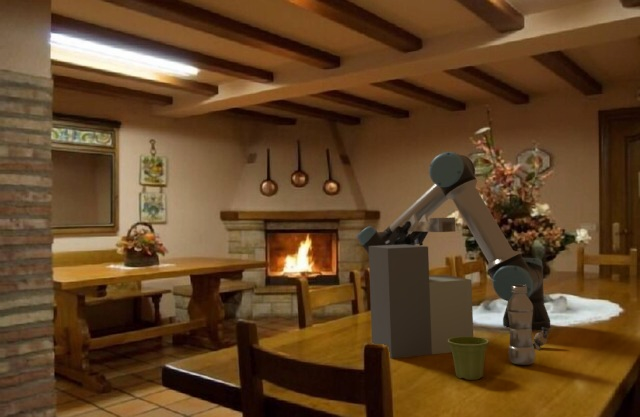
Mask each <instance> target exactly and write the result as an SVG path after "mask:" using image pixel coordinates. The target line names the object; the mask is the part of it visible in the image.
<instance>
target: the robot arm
mask: <svg viewBox="0 0 640 417" xmlns="http://www.w3.org/2000/svg"><path fill="white" fill-rule="evenodd" d="M428 169H429V172H428V174H429V178H430V179H431V181H432V182H433V184H432V186H430V187H429V188H428V189H427V190H425V192H424V193H423V194H422V195H420V196H419V197H418V198H417V200H415V201H414V202H413V203H412V204H410V206H409V207H408V208H407V209H406V210H405V211H404V212H402V213H401V214H400V215H399V216H398V217H397V218H396V219H395V220H394V221H393V222H391V224H390V225H389V226H387V228H386V229H384V231H377V229H375V227H374V226H373V225H369V226H366V227H365V228H364V229H362V230H361V231H360V232H358V235H357V236H356V237H357V240H358V241H359V243H360V246H362V248H363V249H364V251H366V253H367V254H368V255H369V246H382V245H404V244H406V245H418V246H424V245H423V244H424V243H423V242H424V241H425V239H426V237H427V235H428V233H429V232H422V231H411V230H412V229H413V227H414V226H415V224H416V223H417V222H420V221H429V218H430V216H431V215H432V214H433V213H435V212H436V211H437V210H438V209H439V208H440V207H441V206H442V205H443V204H444V203H445V202H447V201H448V200H452V201H453V203H454V205H455V206H456V208H457V210H458V211H459V213H460V215H461V217H462V218H463V220H464V222H465V223H466V226H467V227H468V229H469V231H470V233H471V234H472V236H473V238H474V240H475V241H476V243H477V245H478V246H479V248H480V250H481V252H482V254H483V255H484V257H485V259H486V260H487V262H488V264H487V267H486V268H487V272H488V274H489V275H490V277H491V279H492V287H493V290H494V292H495V294H496V295H497V296H498V297H499V298H500V299H502V300H504V301H506V302H507V304H508V301H509V300H510V298H511V297H512V295H513V293H512V292H511V291H512V285H526V287H527V293H526V296H527V297H528V298H529V300H530V301H531V303H532V305H533V315H532V328H531V329H532V331H538V330H540V331H542V327H544V328H548V329H550V328H551V319H550V316H549V313H548V310H547V307H546V306H545V299H544V291H545V290H544V272H543V271H544V266H543V261H542V260H541V259H540V258H535V257H523V255H522V254H521V252H519V251H516V250H513V248H512V246H511V245H510V243H509V241H508V239H507V238H506V236H505V235H504V233H503V231H502V230H501V228H500V226H499V224H498V223H497V221H496V219H495V218H494V215H493V214H492V212H491V211H490V209H489V208H488V206H487V204H486V203H485V200H484V199H483V198H482V196H481V194H480V192H479V190H478V188H477V182H478V180H477V178H476V177H475V175H476V166H475V165H474V162H473V161H472V160H471V159H470V158H469V157H468V156H466V155H462V154H459V153H456V152H454V151H447V152H441V153H439V154H438V155H437V154H436V156H435V157H434V158H433V159H432V161H431V162H430V165H429V168H428ZM403 222H406V223H405V225H403ZM507 304H506V305H507ZM502 325H503V326H504V327H505V326H506V328H508V327H509V328H508V329H510V324H509V317H508V310H507V306H506V308H505V311H504V313H503V317H502Z"/></svg>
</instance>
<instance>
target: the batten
mask: <svg viewBox="0 0 640 417" xmlns="http://www.w3.org/2000/svg"><path fill="white" fill-rule="evenodd" d="M405 223H406V222H403V225H405ZM411 231H412V232H413V231H422V232H428V233H448V232H449V233H452V232H453V233H454V232H456V217H455V216H454V217H428V221H420V222H417V223H416V224H415V226H414V227H413V229H412V230H411Z"/></svg>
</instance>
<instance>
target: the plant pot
mask: <svg viewBox="0 0 640 417" xmlns="http://www.w3.org/2000/svg"><path fill="white" fill-rule="evenodd" d="M448 343H450V348H451V349H452V352H451V353H452V359H453V364H454V369H455V376H456V377H457V378H458V379H465V380H467V381H476V380H479V379H481V378H483V377H484V369H485V368H484V367H485V357H486V356H485V355H486V350H487V346H488V344H489V340H488V339H487V338H484V337H480V336H478V337H477V336H473V337H468V336H464V337H453V338H450V339H448Z"/></svg>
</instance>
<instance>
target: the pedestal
mask: <svg viewBox="0 0 640 417" xmlns="http://www.w3.org/2000/svg"><path fill="white" fill-rule="evenodd" d="M429 265H430V262H429V246H426V245H425V246H424V245H421V246H420V245H418V244H416V245H406V244H404V245H382V246H369V254H368V266H369V267H368V269H369V271H368V273H369V293H370V294H369V296H370V299H369V300H370V327H371V331H370V332H371V344H372V343H374V344H384V345H387V346H388V347H389V352H390V357H389V359H397V358H398V359H399V358H407V357H408V358H409V357H410V358H411V357H417V356H429V355H439V354H449V353H450V354H451V353H452V349H451V348H450V343H448V339H450V338H453V337H464V336H468V337H474V313H473V311H474V310H473V289H472V288H473V287H472V279H469V278H465V277H459V276H454V275H449V274H432V275H430V266H429Z"/></svg>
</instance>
